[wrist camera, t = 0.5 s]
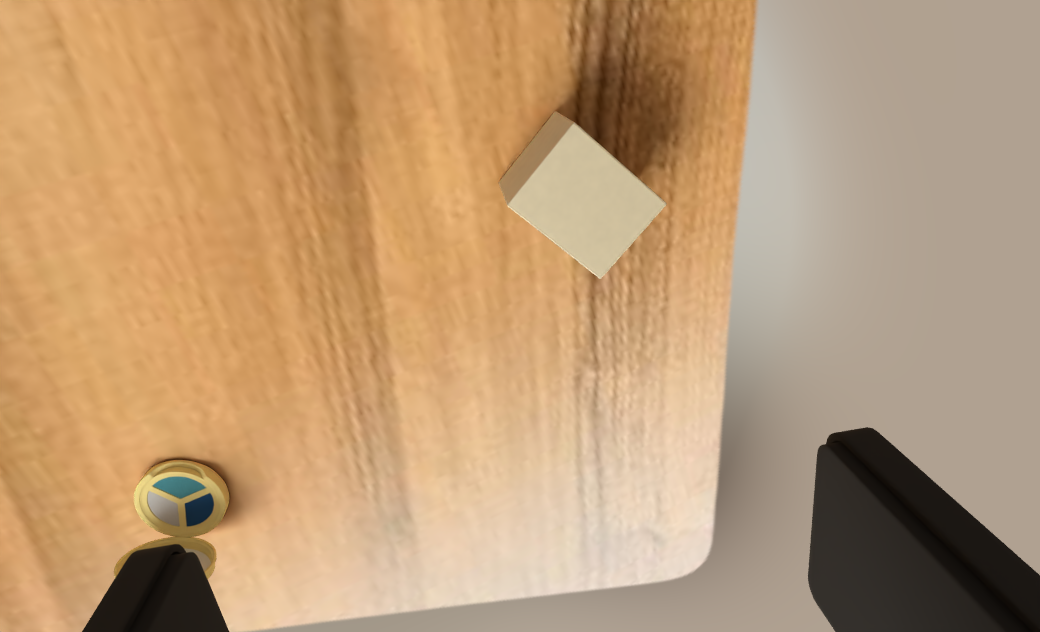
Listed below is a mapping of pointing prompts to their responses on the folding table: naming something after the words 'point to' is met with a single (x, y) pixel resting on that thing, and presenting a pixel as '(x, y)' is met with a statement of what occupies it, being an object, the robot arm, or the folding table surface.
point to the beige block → (579, 195)
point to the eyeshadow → (181, 507)
